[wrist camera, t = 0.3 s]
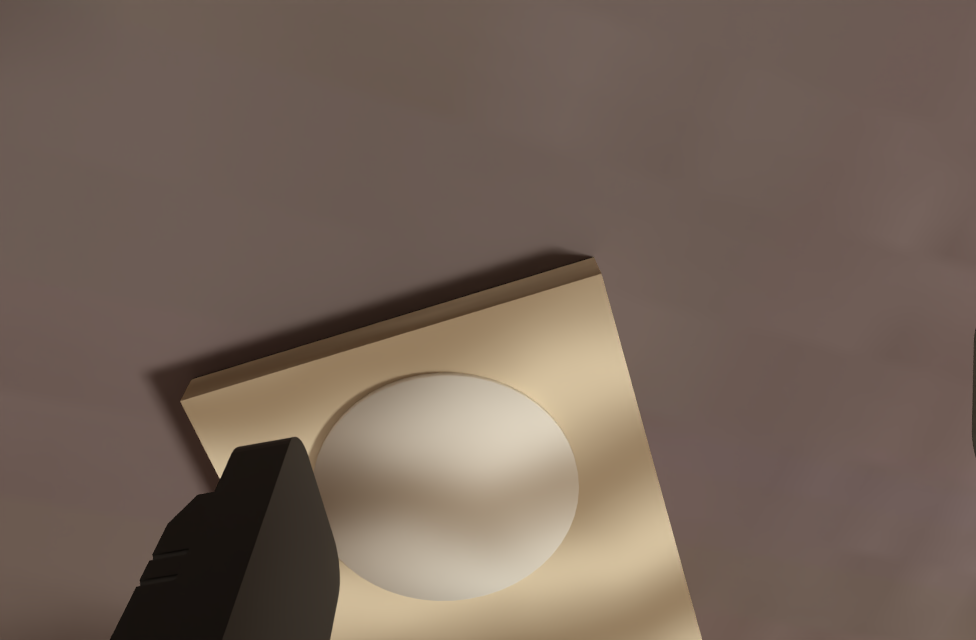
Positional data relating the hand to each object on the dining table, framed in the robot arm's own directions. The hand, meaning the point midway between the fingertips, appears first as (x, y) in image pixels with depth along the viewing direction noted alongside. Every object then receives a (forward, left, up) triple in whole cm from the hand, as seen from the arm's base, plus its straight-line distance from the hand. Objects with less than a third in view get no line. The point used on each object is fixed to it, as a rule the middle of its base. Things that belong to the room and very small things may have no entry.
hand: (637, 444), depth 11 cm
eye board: (+18, -6, -19) cm, 27 cm away
